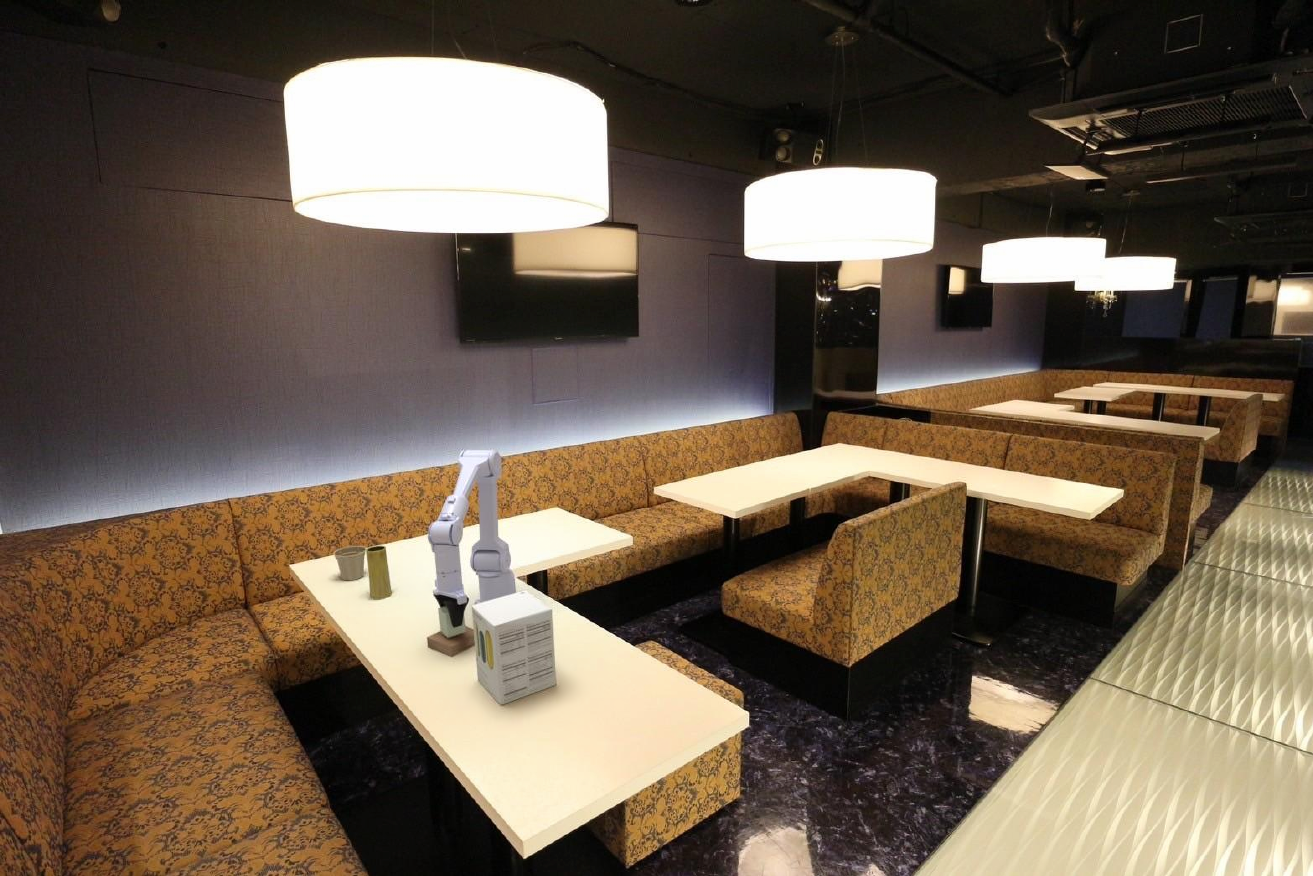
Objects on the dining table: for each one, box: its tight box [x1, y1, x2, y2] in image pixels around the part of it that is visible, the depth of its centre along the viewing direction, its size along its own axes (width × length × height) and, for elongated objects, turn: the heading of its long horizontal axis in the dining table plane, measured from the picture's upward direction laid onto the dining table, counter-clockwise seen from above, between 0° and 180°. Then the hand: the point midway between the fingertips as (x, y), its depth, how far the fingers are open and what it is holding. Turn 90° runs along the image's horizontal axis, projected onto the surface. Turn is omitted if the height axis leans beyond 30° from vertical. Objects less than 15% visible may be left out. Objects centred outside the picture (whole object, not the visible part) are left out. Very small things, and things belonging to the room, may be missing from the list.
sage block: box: [437, 606, 466, 638], centre depth 161 cm, size 4×4×6 cm
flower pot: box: [333, 545, 368, 582], centre depth 208 cm, size 9×9×9 cm
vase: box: [365, 545, 393, 600], centre depth 193 cm, size 6×6×14 cm
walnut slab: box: [426, 625, 475, 658], centre depth 162 cm, size 9×9×3 cm
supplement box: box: [471, 590, 557, 706], centre depth 143 cm, size 13×13×18 cm
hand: (453, 622), depth 162 cm, fingers closed on sage block, 4 cm apart
